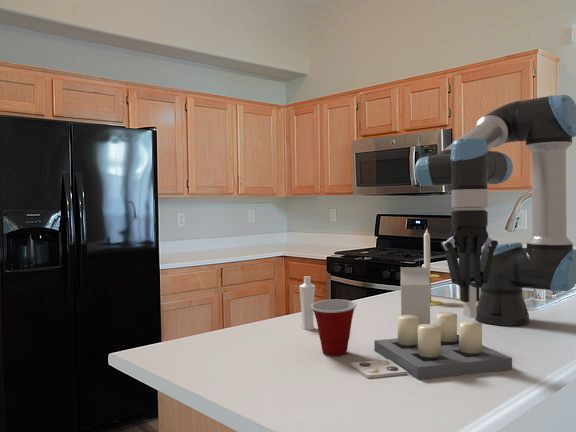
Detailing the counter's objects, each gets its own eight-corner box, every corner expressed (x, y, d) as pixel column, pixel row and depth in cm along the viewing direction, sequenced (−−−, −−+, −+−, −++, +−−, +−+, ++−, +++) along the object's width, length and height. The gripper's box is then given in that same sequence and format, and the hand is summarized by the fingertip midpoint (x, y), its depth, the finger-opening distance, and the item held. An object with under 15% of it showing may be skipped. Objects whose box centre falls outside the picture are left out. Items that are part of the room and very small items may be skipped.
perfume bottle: (308, 331, 148) (307, 278, 148) (297, 328, 152) (296, 276, 151) (319, 328, 151) (318, 276, 151) (309, 325, 155) (308, 275, 154)
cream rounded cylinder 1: (450, 336, 128) (450, 311, 128) (461, 341, 123) (460, 315, 123) (432, 337, 127) (432, 313, 127) (442, 342, 122) (442, 317, 122)
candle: (447, 302, 187) (446, 227, 186) (433, 306, 180) (432, 228, 179) (422, 299, 194) (421, 226, 193) (407, 303, 186) (407, 228, 186)
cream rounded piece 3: (412, 339, 126) (412, 314, 126) (422, 344, 121) (422, 318, 121) (394, 340, 125) (394, 315, 124) (403, 346, 120) (403, 319, 120)
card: (389, 361, 118) (389, 358, 118) (407, 374, 109) (407, 370, 109) (351, 365, 116) (351, 361, 116) (366, 378, 107) (366, 374, 107)
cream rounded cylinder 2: (473, 346, 118) (473, 320, 118) (486, 352, 114) (486, 324, 114) (454, 348, 117) (454, 321, 117) (467, 354, 112) (466, 326, 112)
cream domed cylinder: (433, 350, 116) (433, 323, 116) (445, 356, 111) (445, 328, 111) (414, 352, 115) (413, 324, 115) (424, 358, 110) (424, 329, 110)
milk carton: (430, 344, 132) (429, 269, 132) (401, 343, 134) (400, 269, 133) (428, 337, 139) (427, 266, 139) (401, 336, 141) (400, 265, 140)
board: (455, 343, 132) (455, 333, 132) (512, 369, 111) (512, 357, 111) (374, 350, 127) (374, 340, 127) (417, 379, 106) (417, 367, 106)
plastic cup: (303, 355, 124) (302, 304, 124) (325, 344, 133) (324, 297, 133) (343, 362, 118) (343, 309, 118) (364, 350, 127) (363, 301, 127)
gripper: (485, 209, 120) (485, 311, 120) (433, 209, 117) (434, 314, 117) (506, 209, 113) (506, 318, 113) (451, 209, 110) (452, 321, 110)
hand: (469, 316), depth 115 cm, fingers closed
